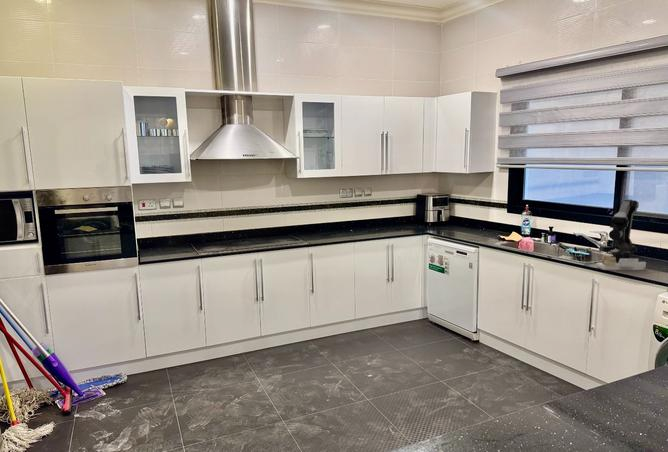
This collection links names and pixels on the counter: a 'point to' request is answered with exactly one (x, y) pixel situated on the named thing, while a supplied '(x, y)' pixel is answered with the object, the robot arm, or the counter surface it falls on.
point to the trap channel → (624, 265)
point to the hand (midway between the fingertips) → (616, 262)
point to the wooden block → (608, 260)
